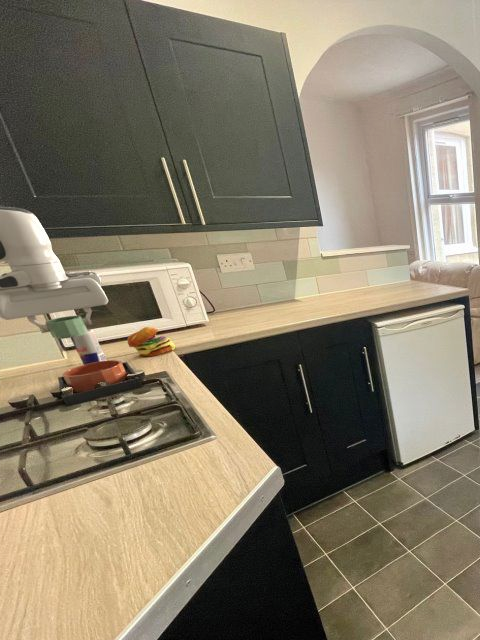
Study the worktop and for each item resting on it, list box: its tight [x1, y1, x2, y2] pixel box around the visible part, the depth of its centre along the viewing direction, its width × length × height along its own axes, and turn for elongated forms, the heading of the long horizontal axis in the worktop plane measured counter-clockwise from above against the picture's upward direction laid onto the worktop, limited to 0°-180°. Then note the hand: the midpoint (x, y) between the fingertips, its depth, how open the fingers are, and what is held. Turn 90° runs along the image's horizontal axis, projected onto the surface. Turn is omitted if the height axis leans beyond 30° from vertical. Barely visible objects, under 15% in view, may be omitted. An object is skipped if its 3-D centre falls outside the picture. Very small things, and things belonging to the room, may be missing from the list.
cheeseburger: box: [127, 326, 176, 357], centre depth 142 cm, size 10×11×10 cm
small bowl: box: [44, 315, 88, 340], centre depth 111 cm, size 7×7×4 cm
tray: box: [57, 361, 143, 407], centre depth 117 cm, size 15×21×2 cm
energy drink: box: [70, 328, 108, 365], centre depth 129 cm, size 5×5×12 cm
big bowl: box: [62, 359, 127, 392], centre depth 116 cm, size 12×12×6 cm
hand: (67, 328), depth 111 cm, fingers closed on small bowl, 7 cm apart
